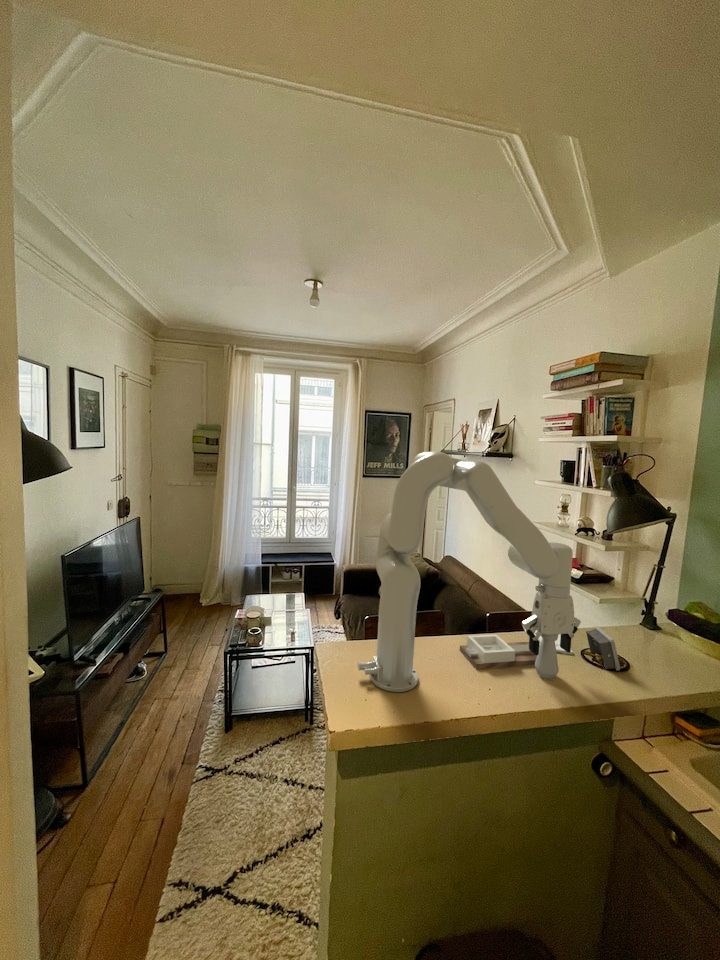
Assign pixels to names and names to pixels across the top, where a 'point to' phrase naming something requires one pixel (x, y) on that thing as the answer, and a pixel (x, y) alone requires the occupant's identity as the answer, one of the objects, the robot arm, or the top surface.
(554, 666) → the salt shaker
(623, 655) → the top surface
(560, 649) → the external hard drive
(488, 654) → the white square tray
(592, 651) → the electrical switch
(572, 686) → the top surface
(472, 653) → the rail
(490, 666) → the rail board
